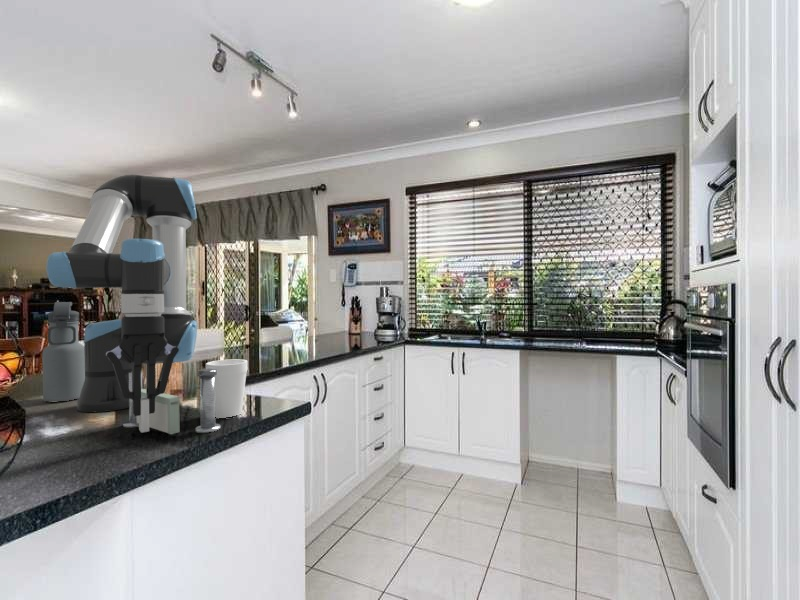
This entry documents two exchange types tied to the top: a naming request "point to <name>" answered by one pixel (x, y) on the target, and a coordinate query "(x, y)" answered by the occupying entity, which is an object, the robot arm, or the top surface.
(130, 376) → the hinge post
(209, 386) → the post
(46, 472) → the top surface
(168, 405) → the gate
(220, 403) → the foam cup
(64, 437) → the top surface
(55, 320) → the water bottle
